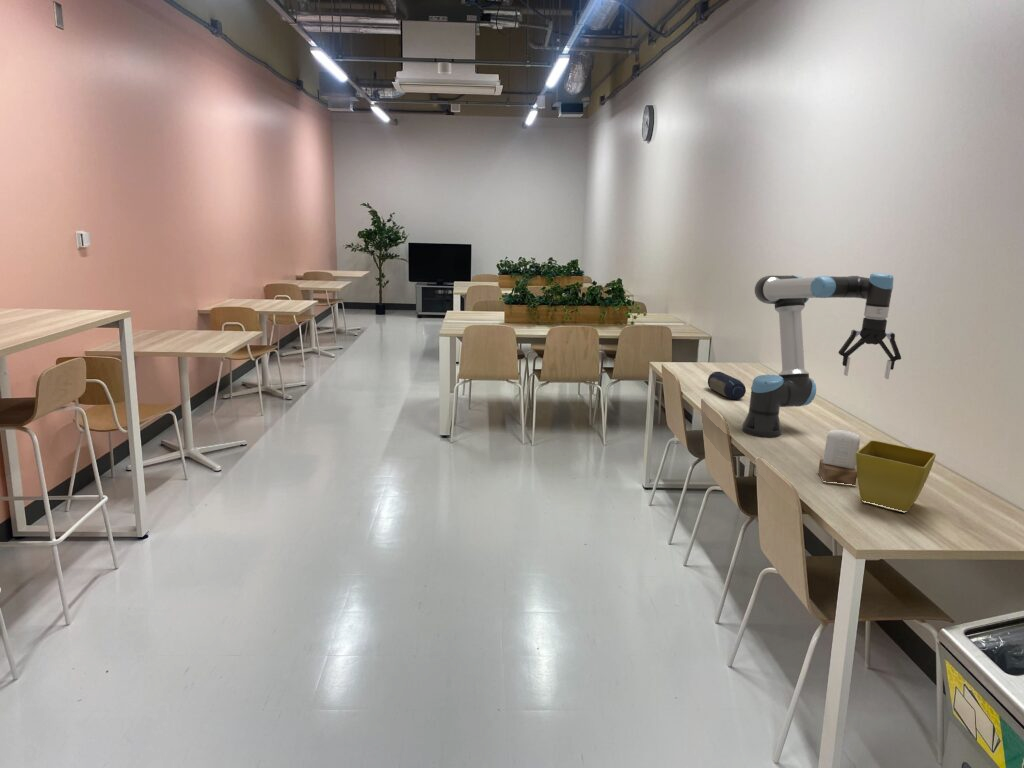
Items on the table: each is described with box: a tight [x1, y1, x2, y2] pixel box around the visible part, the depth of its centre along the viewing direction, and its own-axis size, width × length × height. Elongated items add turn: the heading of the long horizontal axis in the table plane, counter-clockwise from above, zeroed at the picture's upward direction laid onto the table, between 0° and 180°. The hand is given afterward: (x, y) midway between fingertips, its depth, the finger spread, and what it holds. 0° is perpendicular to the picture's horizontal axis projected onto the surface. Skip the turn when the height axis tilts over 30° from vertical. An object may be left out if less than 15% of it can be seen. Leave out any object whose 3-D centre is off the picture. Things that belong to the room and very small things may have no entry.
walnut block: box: [817, 458, 857, 485], centre depth 243 cm, size 10×10×5 cm
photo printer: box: [823, 429, 861, 469], centre depth 241 cm, size 10×4×12 cm, turn 60°
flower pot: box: [855, 439, 937, 512], centre depth 223 cm, size 19×19×17 cm
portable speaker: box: [707, 371, 747, 401], centre depth 352 cm, size 25×10×10 cm, turn 12°
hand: (866, 376), depth 257 cm, fingers open, 13 cm apart
